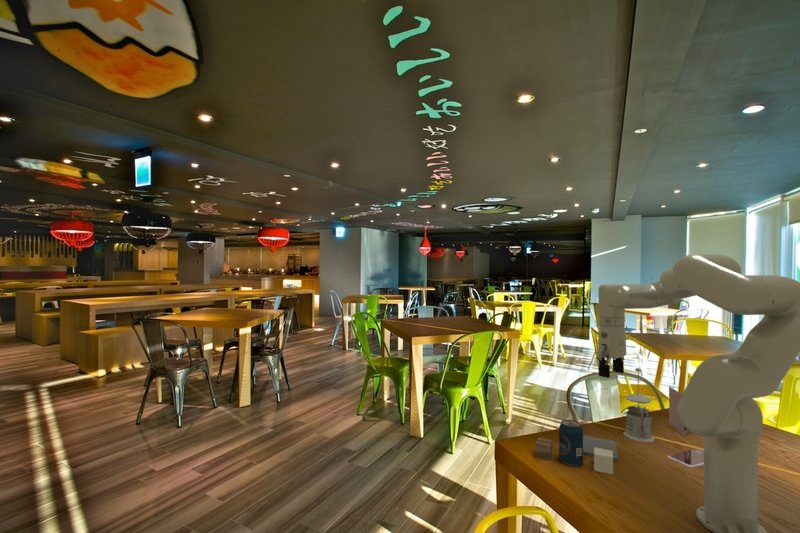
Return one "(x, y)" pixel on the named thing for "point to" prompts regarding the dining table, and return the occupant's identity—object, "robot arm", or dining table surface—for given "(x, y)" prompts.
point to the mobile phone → (689, 457)
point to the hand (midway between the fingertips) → (611, 374)
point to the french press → (638, 418)
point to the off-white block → (603, 460)
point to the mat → (598, 446)
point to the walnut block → (544, 448)
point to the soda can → (571, 442)
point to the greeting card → (675, 411)
